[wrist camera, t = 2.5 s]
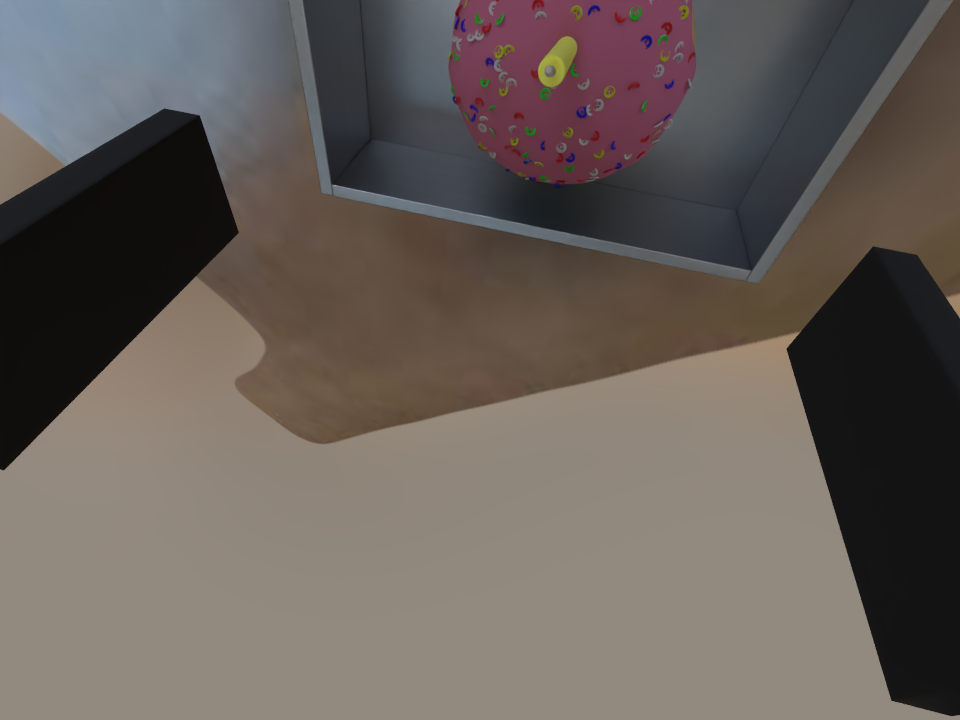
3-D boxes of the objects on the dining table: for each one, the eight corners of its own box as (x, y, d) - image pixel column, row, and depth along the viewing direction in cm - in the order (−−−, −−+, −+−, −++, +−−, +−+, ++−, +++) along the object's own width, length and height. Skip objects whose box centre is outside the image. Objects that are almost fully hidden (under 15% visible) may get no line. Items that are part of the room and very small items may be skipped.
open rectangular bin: (974, -186, 14) (1085, -191, 11) (741, 218, 24) (758, 284, 21) (325, -271, 16) (234, -299, 12) (364, 144, 26) (321, 194, 22)
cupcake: (477, -118, 17) (342, -72, 9) (726, -113, 16) (809, -55, 8) (478, 127, 24) (397, 277, 16) (655, 145, 22) (664, 316, 15)
